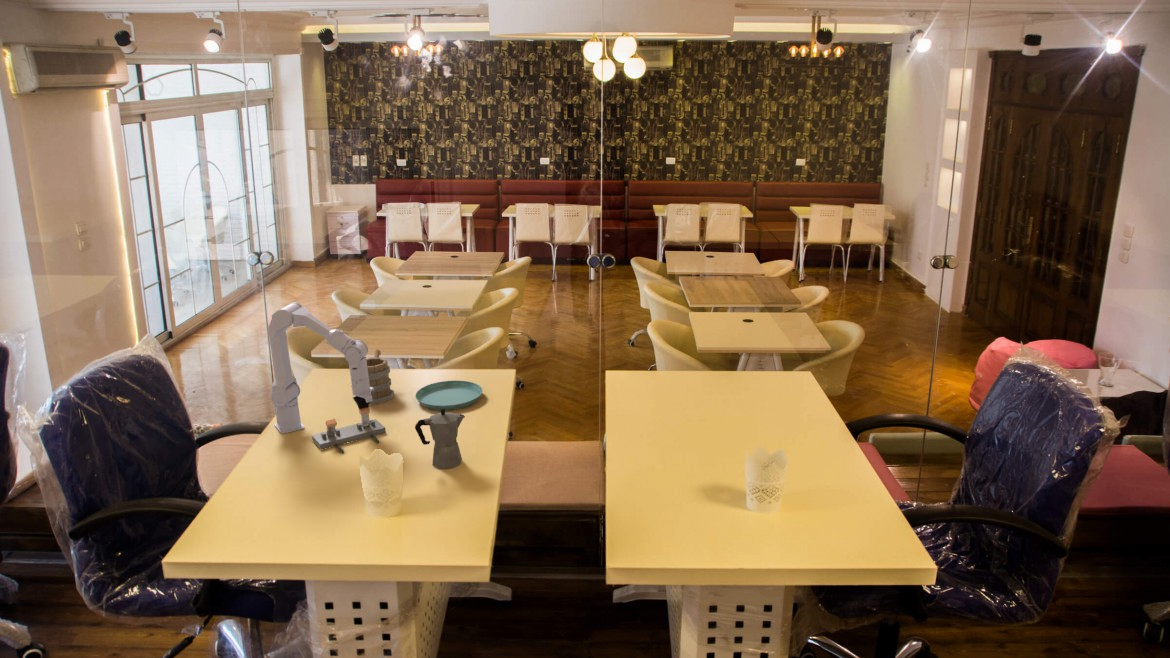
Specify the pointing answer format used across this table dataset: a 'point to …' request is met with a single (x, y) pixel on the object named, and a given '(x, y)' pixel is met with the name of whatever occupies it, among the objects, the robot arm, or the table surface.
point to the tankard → (379, 379)
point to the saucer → (449, 395)
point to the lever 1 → (331, 427)
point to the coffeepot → (443, 438)
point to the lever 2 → (365, 417)
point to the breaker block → (349, 435)
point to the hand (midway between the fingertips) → (364, 415)
